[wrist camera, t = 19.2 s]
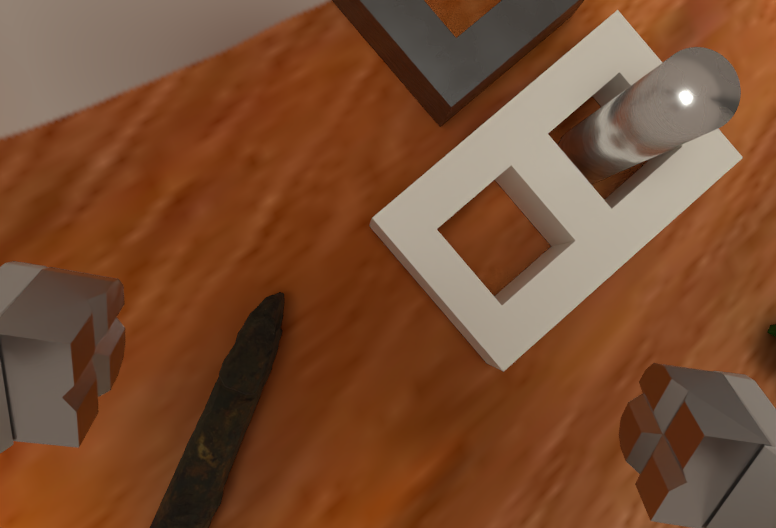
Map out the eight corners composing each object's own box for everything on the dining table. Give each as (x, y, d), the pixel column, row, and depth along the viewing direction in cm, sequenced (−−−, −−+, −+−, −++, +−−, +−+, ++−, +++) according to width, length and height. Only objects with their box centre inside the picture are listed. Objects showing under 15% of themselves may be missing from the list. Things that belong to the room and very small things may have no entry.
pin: (544, 151, 43) (639, 83, 29) (587, 114, 43) (702, 30, 29) (582, 196, 43) (696, 150, 29) (624, 159, 43) (757, 95, 29)
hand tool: (193, 580, 40) (173, 618, 36) (135, 555, 40) (108, 589, 36) (321, 311, 42) (319, 313, 37) (266, 285, 42) (257, 284, 37)
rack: (369, 225, 42) (372, 217, 38) (589, 39, 44) (617, 9, 39) (486, 363, 42) (503, 371, 38) (702, 171, 44) (743, 157, 39)
